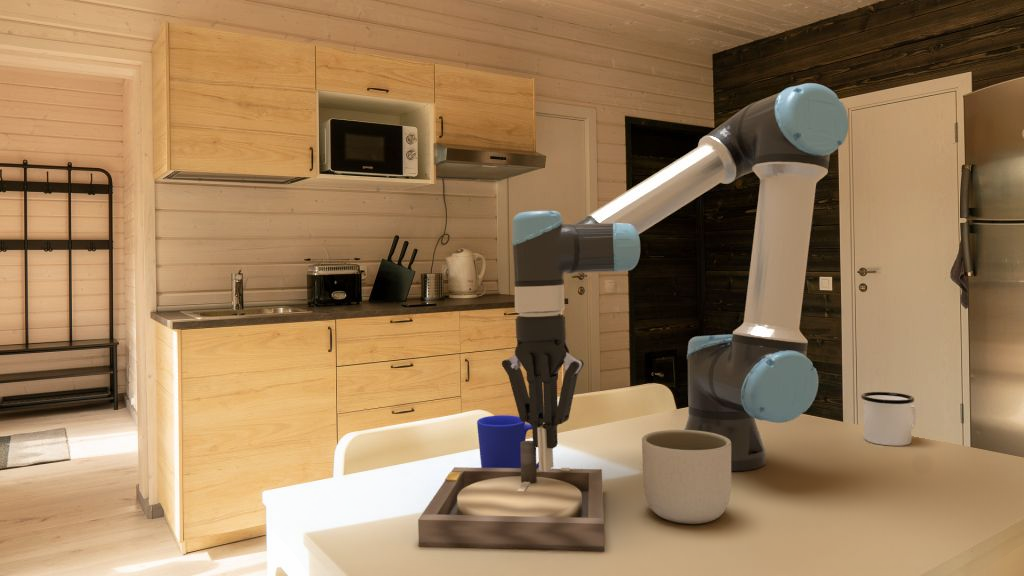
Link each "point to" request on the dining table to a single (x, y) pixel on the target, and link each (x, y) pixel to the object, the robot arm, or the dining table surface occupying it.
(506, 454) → the mug
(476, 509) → the dial
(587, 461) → the dining table surface
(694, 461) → the planter
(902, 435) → the mug
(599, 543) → the brown wooden tray
